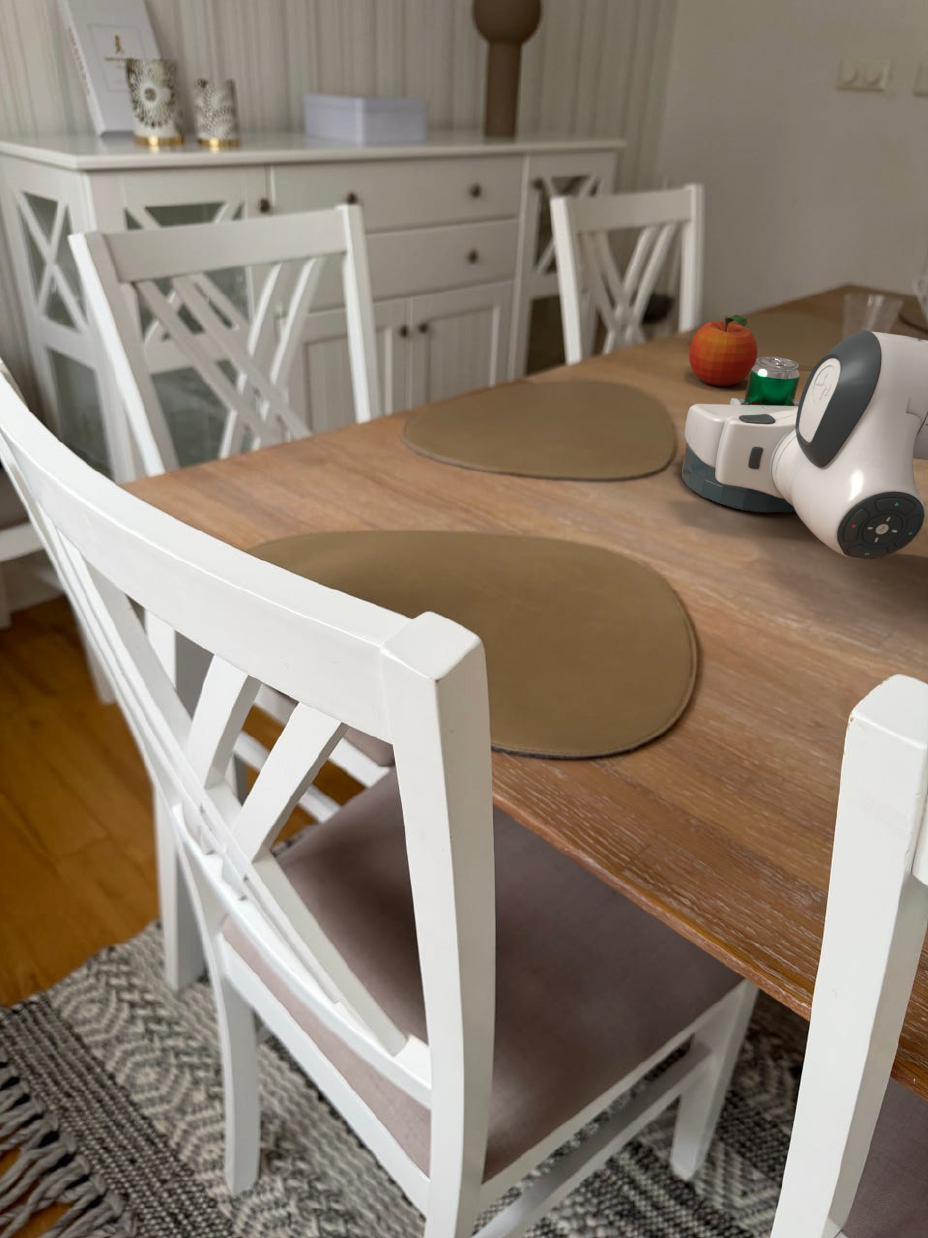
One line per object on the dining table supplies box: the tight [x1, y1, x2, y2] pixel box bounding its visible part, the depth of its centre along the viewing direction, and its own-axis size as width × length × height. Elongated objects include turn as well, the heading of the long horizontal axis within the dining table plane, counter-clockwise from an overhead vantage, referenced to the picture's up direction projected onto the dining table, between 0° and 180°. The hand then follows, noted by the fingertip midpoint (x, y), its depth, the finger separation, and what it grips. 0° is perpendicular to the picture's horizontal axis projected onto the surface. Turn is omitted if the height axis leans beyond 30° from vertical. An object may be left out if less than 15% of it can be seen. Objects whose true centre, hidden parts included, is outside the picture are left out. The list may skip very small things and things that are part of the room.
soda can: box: [744, 356, 801, 406], centre depth 102 cm, size 5×5×12 cm
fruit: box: [688, 314, 758, 387], centre depth 136 cm, size 10×10×10 cm
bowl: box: [681, 442, 796, 513], centre depth 105 cm, size 15×15×4 cm
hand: (764, 405), depth 102 cm, fingers closed on soda can, 5 cm apart
